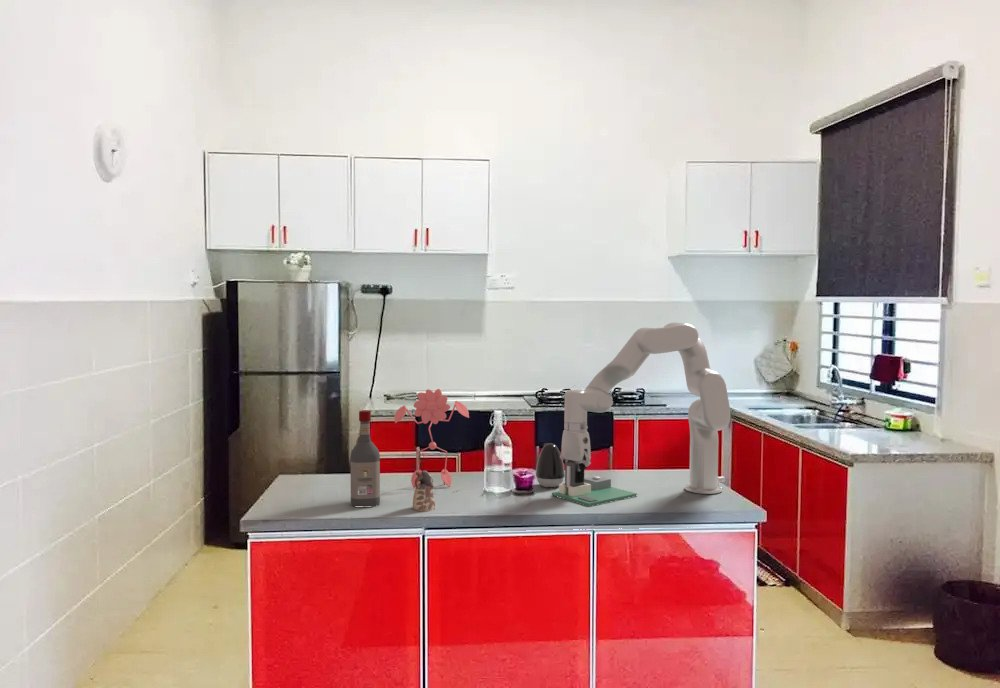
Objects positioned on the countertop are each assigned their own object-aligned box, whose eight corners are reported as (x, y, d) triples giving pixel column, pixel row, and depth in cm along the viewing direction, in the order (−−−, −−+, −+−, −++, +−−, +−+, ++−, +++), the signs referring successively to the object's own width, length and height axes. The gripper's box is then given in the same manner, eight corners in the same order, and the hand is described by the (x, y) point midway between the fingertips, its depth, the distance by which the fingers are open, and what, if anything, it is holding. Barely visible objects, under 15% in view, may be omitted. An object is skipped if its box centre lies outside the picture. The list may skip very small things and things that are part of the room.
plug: (575, 483, 272) (576, 460, 272) (584, 485, 269) (584, 462, 269) (563, 486, 269) (563, 462, 269) (571, 488, 266) (572, 464, 265)
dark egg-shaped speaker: (557, 481, 291) (558, 440, 290) (569, 488, 281) (569, 445, 280) (531, 483, 287) (531, 441, 287) (541, 490, 278) (542, 446, 277)
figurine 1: (394, 484, 285) (394, 386, 282) (467, 483, 287) (467, 386, 285) (393, 496, 269) (393, 392, 267) (470, 494, 272) (471, 392, 270)
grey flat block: (596, 483, 283) (596, 474, 283) (610, 487, 278) (610, 477, 278) (582, 486, 279) (582, 476, 279) (596, 490, 274) (596, 480, 273)
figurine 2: (437, 510, 250) (437, 472, 250) (415, 512, 248) (414, 473, 248) (432, 504, 257) (432, 467, 257) (410, 506, 255) (410, 469, 255)
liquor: (380, 507, 254) (379, 412, 253) (350, 508, 253) (350, 413, 251) (379, 500, 263) (379, 408, 262) (351, 501, 262) (350, 409, 260)
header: (576, 489, 275) (576, 480, 275) (591, 493, 269) (591, 484, 269) (559, 492, 270) (559, 483, 270) (573, 496, 264) (573, 487, 264)
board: (598, 486, 283) (598, 479, 283) (636, 496, 269) (636, 488, 269) (551, 495, 270) (551, 487, 270) (589, 506, 256) (589, 498, 256)
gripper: (601, 429, 264) (600, 484, 265) (566, 422, 277) (566, 475, 278) (584, 431, 259) (584, 487, 260) (550, 424, 273) (549, 478, 274)
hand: (574, 480), depth 269 cm, fingers closed on plug, 4 cm apart
